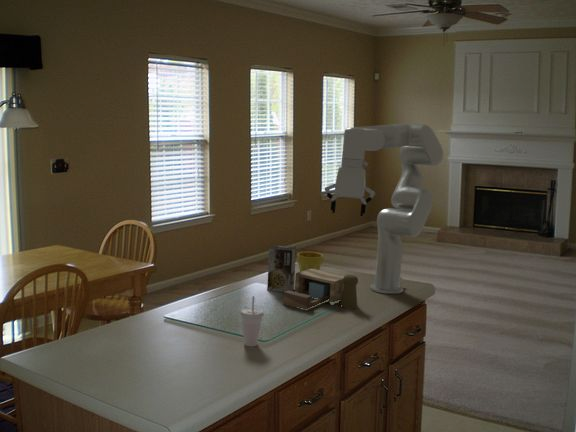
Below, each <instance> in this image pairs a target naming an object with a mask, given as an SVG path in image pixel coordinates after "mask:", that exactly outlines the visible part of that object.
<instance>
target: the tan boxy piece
mask: <svg viewBox="0 0 576 432" xmlns="http://www.w3.org/2000/svg"><path fill="white" fill-rule="evenodd" d="M344 276H346V275H345V274H339V273H334V272H329V271H325V270H316V269H308V270H305V271H301V272H300V271H299V272H295V279H294V292H297V293H303V292H306V291H308V290H309V282H312V281H315V280H317V281H321V282H326V283H330V284H331V285H330V298H329V302H335V301H338V300H341V297H342V293H343V288H344V283H343V278H344ZM329 302H328V303H329Z"/></svg>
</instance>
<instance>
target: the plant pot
mask: <svg viewBox="0 0 576 432" xmlns="http://www.w3.org/2000/svg"><path fill="white" fill-rule="evenodd" d="M296 259H297V260H296V262H297V263H298V268H299V272H301V271H305V270H308V269H316V270H320V269H321V266H322V265H323V263H324V262H323V261H324V254H321V253H319V252H314V251H301V252H298V253H296Z"/></svg>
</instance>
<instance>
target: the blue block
mask: <svg viewBox="0 0 576 432" xmlns="http://www.w3.org/2000/svg"><path fill="white" fill-rule="evenodd" d="M330 285H331V284H330V283H326V282H321V281H317V280H315V281H312V282H309V295H310V296H312V297H313V298H318V299H319V298H321V297H324V296H327V295H329V294H330Z"/></svg>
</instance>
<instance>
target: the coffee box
mask: <svg viewBox="0 0 576 432" xmlns="http://www.w3.org/2000/svg"><path fill="white" fill-rule="evenodd" d="M296 259H297V246H296V247H295V246H288V245H287V246H286V245H277V244H276V245H275V244H273V245H272V246H270V247H269V248H268V264H267V269H268V270H267V286H266V290H267V291H271V292H280V293H284V292H286V291H293V292H294V291H295V279H296V261H297V260H296Z"/></svg>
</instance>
